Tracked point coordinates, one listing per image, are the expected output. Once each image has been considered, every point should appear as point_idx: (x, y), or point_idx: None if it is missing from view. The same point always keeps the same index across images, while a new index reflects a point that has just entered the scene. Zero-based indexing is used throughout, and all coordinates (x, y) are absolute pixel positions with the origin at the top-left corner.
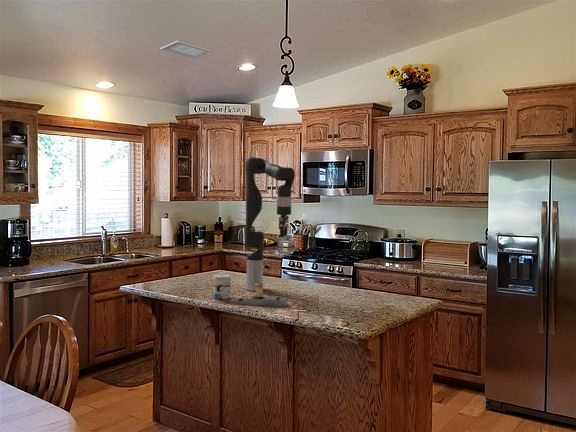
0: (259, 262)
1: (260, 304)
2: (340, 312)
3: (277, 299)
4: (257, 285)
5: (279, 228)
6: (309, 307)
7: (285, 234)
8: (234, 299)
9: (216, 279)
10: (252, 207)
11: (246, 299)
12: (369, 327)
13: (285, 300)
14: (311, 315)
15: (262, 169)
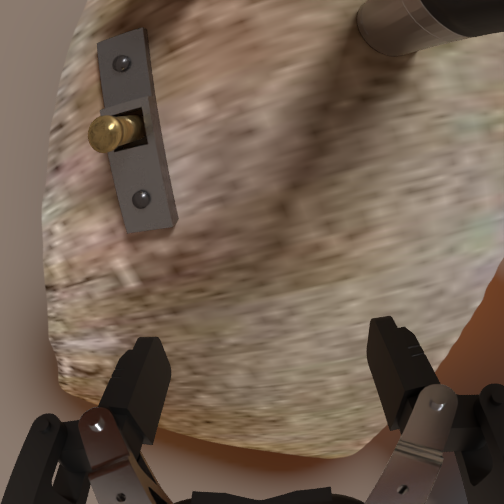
0: (428, 20)
1: None
2: None
3: (131, 202)
4: (89, 135)
5: (44, 423)
6: (170, 290)
7: (372, 353)
8: (118, 43)
9: None
10: None
11: (134, 78)
12: (93, 397)
13: (131, 232)
14: (96, 309)
15: None
